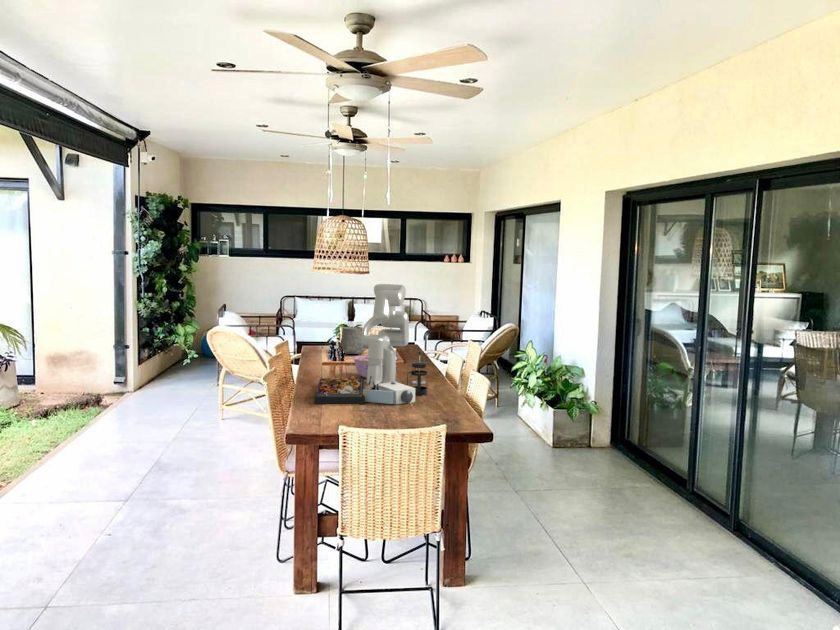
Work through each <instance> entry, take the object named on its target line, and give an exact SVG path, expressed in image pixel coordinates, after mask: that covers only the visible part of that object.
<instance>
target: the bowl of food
mask: <svg viewBox="0 0 840 630" xmlns="http://www.w3.org/2000/svg"><path fill="white" fill-rule="evenodd" d="M353 359H354V364H355V365H354V366H355V369H356V370H355V371H356V373H357V374H358V375H360V376H362V377H363V379H367V372H368V355H357V356H355V357H353Z"/></svg>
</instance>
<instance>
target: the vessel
mask: <svg viewBox="0 0 840 630" xmlns="http://www.w3.org/2000/svg"><path fill="white" fill-rule="evenodd" d="M363 328H364V327H361V326H344V327H343V326H342V335H341V340H340V342H339V346H341V347H342V349H343V351H344V353H345V354H344V355H347V354H360V355H362V354H364V352H366V350H367V349H365V348H363V347H362V343H361V341H362V332H363ZM361 353H362V354H361Z"/></svg>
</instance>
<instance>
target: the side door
mask: <svg viewBox="0 0 840 630" xmlns="http://www.w3.org/2000/svg"><path fill="white" fill-rule="evenodd" d="M396 394H397V392H396V391H395V392H393V391H382V390H371V388H370V389H367V388H364V389H363V396H365V403H367V402H368V403H369V402H370V403H377V404H378V403H380V404H387V405H388V404H389V405H395V404H396ZM396 405H397V404H396Z"/></svg>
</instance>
